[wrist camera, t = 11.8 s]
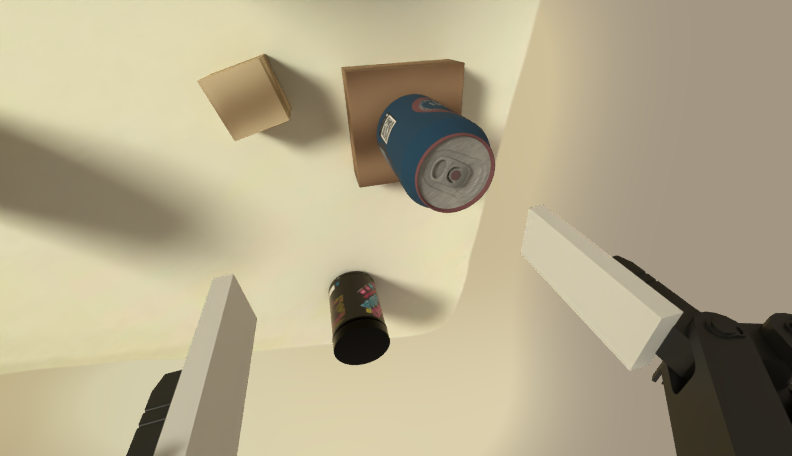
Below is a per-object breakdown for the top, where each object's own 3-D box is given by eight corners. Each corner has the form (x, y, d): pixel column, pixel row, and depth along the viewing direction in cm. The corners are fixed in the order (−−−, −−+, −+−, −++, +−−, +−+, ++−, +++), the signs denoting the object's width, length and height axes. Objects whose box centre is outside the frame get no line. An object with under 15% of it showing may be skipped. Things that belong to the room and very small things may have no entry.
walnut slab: (341, 67, 30) (346, 72, 27) (448, 59, 32) (464, 62, 29) (354, 172, 36) (359, 187, 33) (444, 160, 38) (457, 173, 35)
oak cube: (212, 73, 28) (197, 81, 24) (265, 53, 28) (258, 58, 24) (244, 126, 31) (235, 141, 27) (291, 108, 31) (289, 120, 27)
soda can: (453, 108, 31) (522, 146, 21) (422, 171, 34) (470, 230, 24) (391, 78, 28) (437, 106, 18) (363, 149, 31) (390, 206, 21)
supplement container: (368, 304, 48) (382, 364, 40) (324, 303, 46) (329, 366, 38) (379, 270, 45) (396, 326, 37) (332, 267, 43) (339, 327, 34)
